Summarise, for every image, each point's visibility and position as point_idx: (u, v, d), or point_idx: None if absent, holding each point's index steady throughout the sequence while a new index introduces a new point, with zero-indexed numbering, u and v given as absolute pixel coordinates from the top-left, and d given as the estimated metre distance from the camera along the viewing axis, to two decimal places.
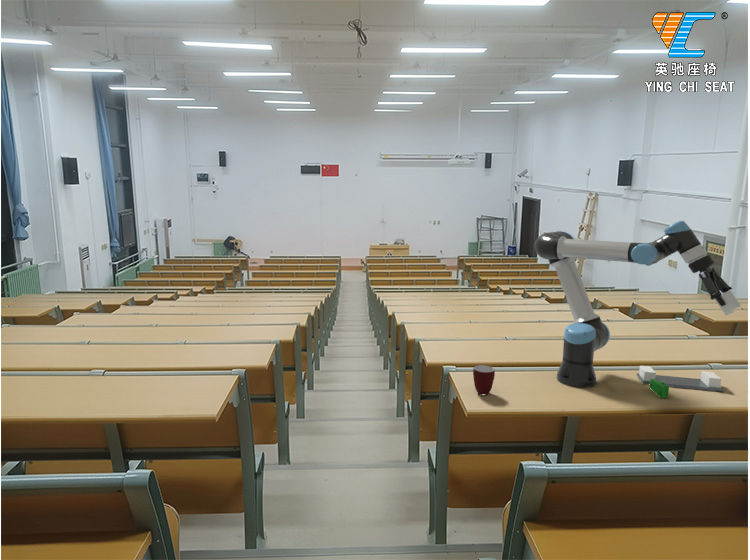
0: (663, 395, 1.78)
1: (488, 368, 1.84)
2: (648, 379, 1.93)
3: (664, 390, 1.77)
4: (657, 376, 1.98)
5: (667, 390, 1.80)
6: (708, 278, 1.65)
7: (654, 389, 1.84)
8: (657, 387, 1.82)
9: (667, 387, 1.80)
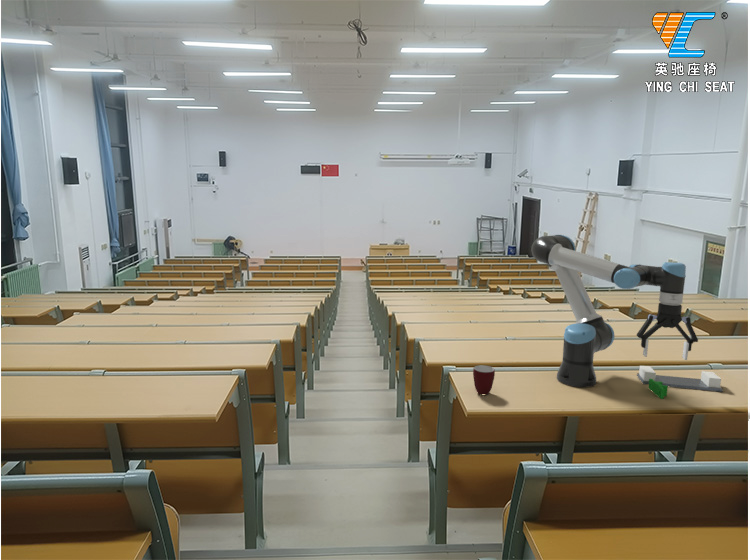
0: (662, 395, 1.78)
1: (488, 368, 1.84)
2: (648, 379, 1.93)
3: (663, 390, 1.78)
4: (657, 376, 1.98)
5: (666, 390, 1.80)
6: (647, 322, 1.80)
7: (653, 389, 1.84)
8: (656, 387, 1.82)
9: (666, 387, 1.80)
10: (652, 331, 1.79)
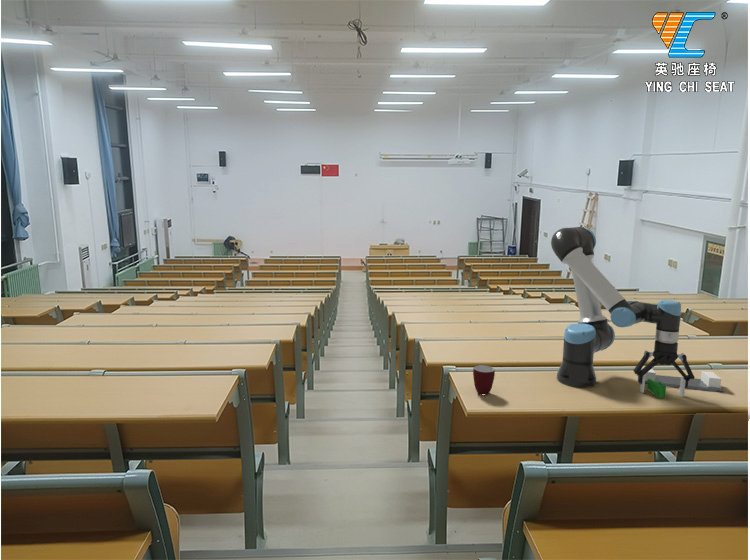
0: (660, 395, 1.78)
1: (488, 368, 1.84)
2: None
3: (661, 390, 1.78)
4: (657, 376, 1.98)
5: (664, 390, 1.80)
6: (643, 358, 1.82)
7: (651, 389, 1.84)
8: (654, 387, 1.82)
9: (664, 387, 1.80)
10: (649, 368, 1.81)
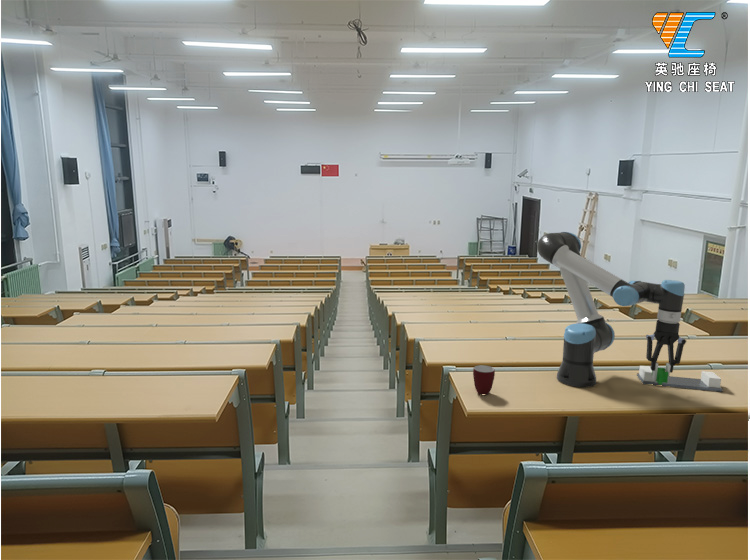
0: (660, 380, 1.78)
1: (488, 368, 1.84)
2: (648, 379, 1.93)
3: (661, 375, 1.77)
4: None
5: (666, 376, 1.79)
6: (648, 343, 1.81)
7: None
8: None
9: (666, 373, 1.79)
10: (657, 352, 1.80)
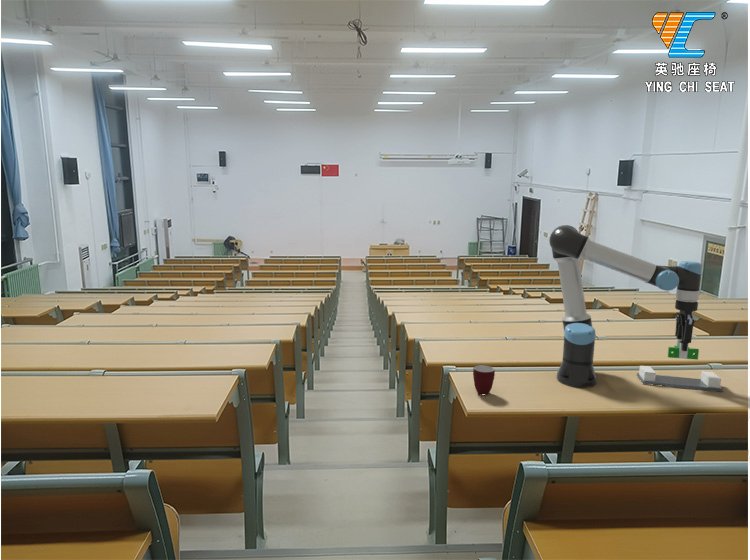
0: None
1: (488, 368, 1.84)
2: (648, 379, 1.93)
3: None
4: (657, 376, 1.98)
5: None
6: (691, 327, 1.83)
7: None
8: None
9: None
10: None
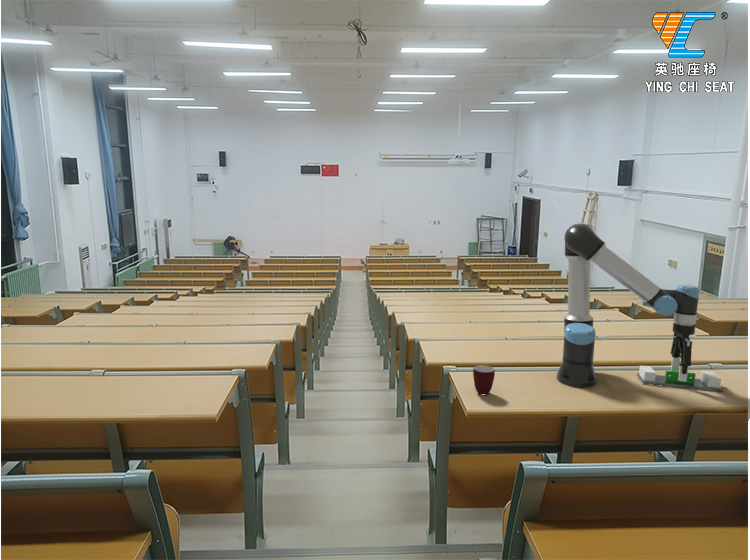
0: None
1: (488, 368, 1.84)
2: (648, 379, 1.93)
3: None
4: (657, 376, 1.98)
5: None
6: (690, 349, 1.84)
7: (676, 378, 1.92)
8: None
9: None
10: None
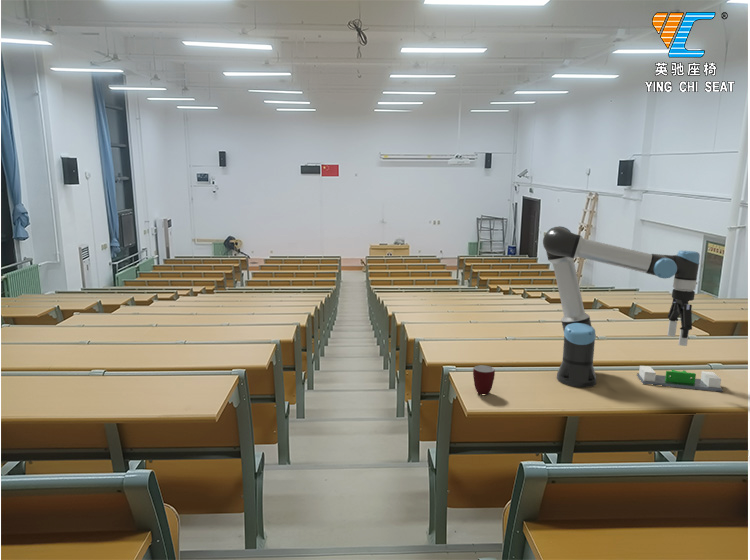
0: None
1: (488, 368, 1.84)
2: (648, 379, 1.93)
3: None
4: (657, 376, 1.98)
5: None
6: (690, 312, 1.82)
7: (677, 378, 1.91)
8: (683, 375, 1.91)
9: None
10: None
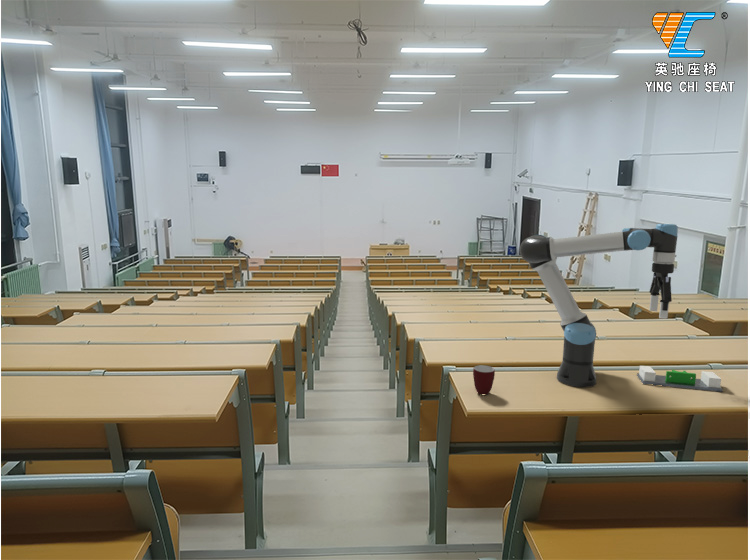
0: None
1: (488, 368, 1.84)
2: (648, 379, 1.93)
3: None
4: (657, 376, 1.98)
5: None
6: (669, 284, 1.81)
7: (677, 379, 1.91)
8: (683, 376, 1.90)
9: None
10: None
